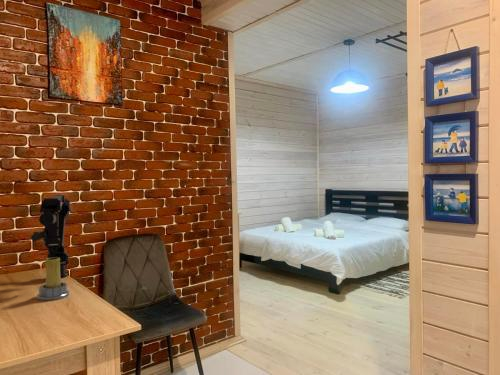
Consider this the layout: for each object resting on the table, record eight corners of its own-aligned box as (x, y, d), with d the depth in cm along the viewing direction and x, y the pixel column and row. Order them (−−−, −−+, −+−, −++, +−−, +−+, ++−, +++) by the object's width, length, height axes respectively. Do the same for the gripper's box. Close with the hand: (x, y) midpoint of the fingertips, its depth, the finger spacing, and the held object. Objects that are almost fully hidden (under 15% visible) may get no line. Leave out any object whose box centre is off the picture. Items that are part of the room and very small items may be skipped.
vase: (41, 293, 159) (41, 259, 159) (55, 289, 165) (54, 256, 164) (51, 295, 156) (51, 260, 156) (64, 291, 162) (64, 257, 162)
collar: (53, 290, 168) (53, 280, 168) (75, 293, 164) (75, 282, 164) (29, 299, 156) (29, 288, 156) (53, 302, 153) (52, 290, 153)
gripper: (30, 225, 180) (30, 258, 179) (31, 226, 164) (31, 263, 163) (57, 224, 186) (57, 256, 185) (60, 225, 170) (60, 260, 169)
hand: (51, 259), depth 176 cm, fingers open, 9 cm apart
